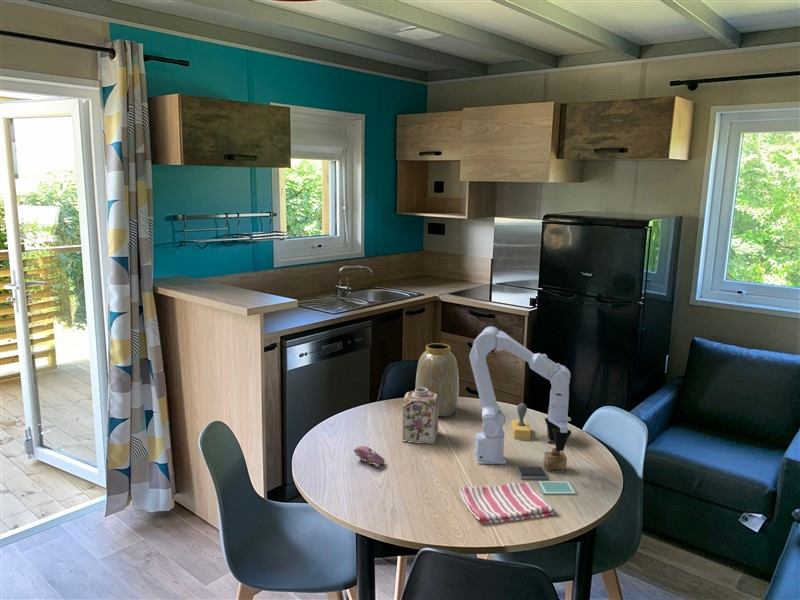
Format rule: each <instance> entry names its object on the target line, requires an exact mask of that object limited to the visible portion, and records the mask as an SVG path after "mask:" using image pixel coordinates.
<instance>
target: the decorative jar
mask: <svg viewBox="0 0 800 600" xmlns="http://www.w3.org/2000/svg"><path fill="white" fill-rule="evenodd" d="M438 401H439V398H438V395H437V394H435V393H433V392H430V391H428V389H426V388H416V387H415V389H414V390H411V391H407V392H406V393H405V394H404V397H403V402H402V421H401V422H402V423H401V425H402V427H401V429H402V430H401V432H402V435H401V436H402V437H401V438H402V440H406V441H412V442H420V443H419V444H423V443H427V444H426V445H434V444H435V442H436V439H437V435H438V432H439V417H438ZM412 442H411V443H412Z"/></svg>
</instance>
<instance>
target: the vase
mask: <svg viewBox="0 0 800 600" xmlns="http://www.w3.org/2000/svg"><path fill="white" fill-rule="evenodd" d="M458 367H459V366H458V361H457V359H456V356H455V355H454V353H452V352H451V346H450V345H449V344H446V343H440V342H437V343H436V342H435V343H434V342H433V343H429V344H426V345H425V351H423V353H421V355H420V357H419V359H418V362H417V368H416V376H415V377H416V378H415V389H416V388H426V389H428V391H430V392H433V393H435V394H437V395H438V398H439V401H438V416H444V417H447V415H448V416H450V414H451V415H452V414H453V413H454V412H455V410H456V409H457V406H458V403H459V391H460V390H459V389H460V384H459V380H460V378H459V368H458Z"/></svg>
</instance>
